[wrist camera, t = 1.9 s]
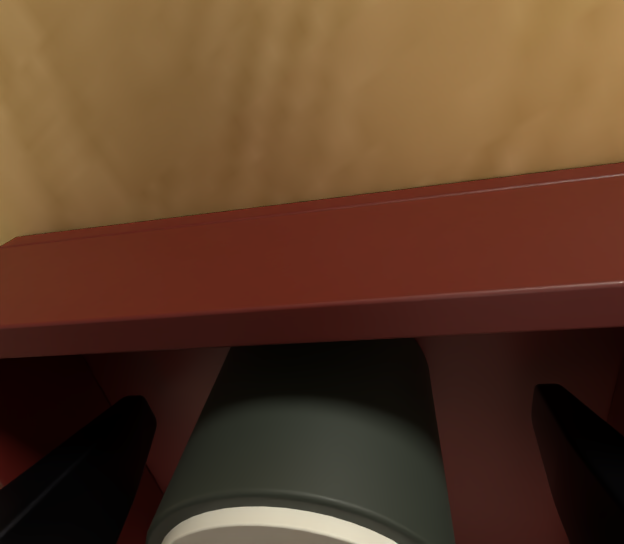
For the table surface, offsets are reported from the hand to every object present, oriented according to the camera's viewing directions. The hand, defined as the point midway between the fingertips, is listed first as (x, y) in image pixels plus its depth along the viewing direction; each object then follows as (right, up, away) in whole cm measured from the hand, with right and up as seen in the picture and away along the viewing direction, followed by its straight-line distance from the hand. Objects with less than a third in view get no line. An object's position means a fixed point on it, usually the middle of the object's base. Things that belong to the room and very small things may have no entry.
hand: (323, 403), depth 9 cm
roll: (0, 0, +1) cm, 1 cm away
